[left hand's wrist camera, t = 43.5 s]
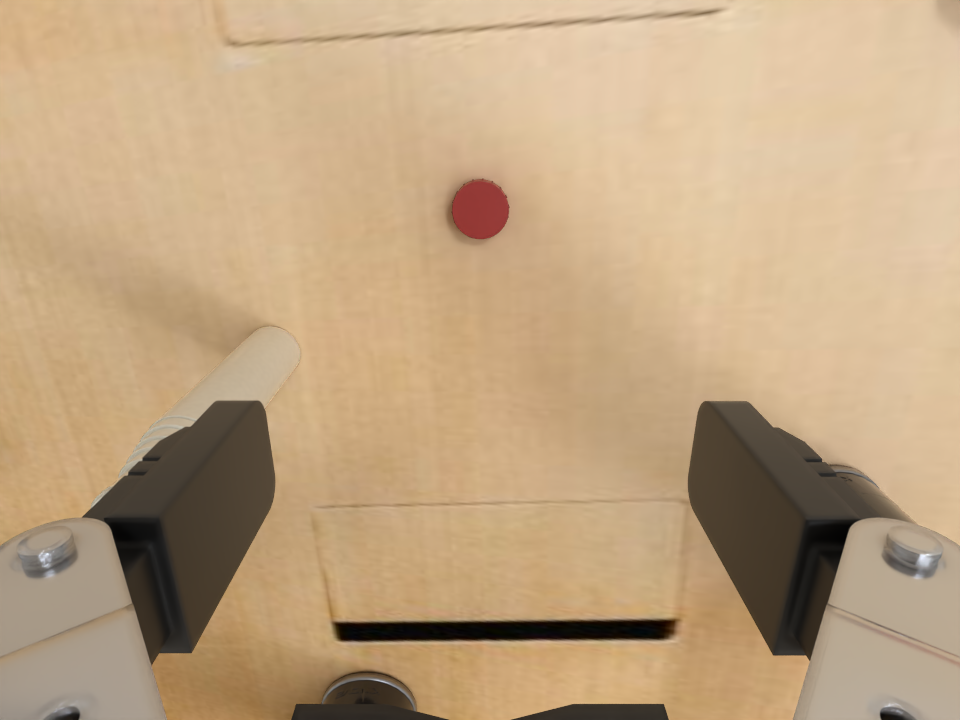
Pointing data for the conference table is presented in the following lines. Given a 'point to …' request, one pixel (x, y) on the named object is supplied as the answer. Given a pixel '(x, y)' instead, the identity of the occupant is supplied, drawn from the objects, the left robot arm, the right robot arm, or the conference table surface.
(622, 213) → the conference table surface
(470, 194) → the cap
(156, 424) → the bottle
